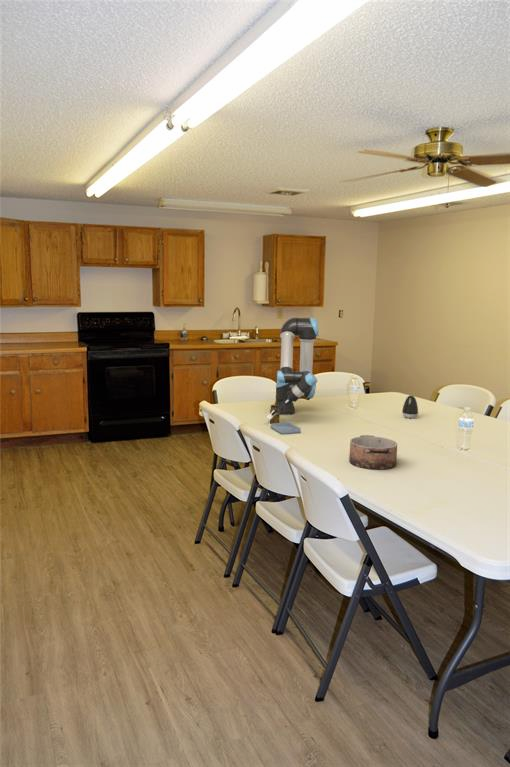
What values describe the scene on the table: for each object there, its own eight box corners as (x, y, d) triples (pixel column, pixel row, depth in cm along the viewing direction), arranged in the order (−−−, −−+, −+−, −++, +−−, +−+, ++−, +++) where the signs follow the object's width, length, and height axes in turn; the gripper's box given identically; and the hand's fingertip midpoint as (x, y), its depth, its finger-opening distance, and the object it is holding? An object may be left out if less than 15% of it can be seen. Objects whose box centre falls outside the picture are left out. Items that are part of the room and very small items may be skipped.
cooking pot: (343, 454, 296) (345, 434, 294) (387, 455, 296) (388, 434, 295) (355, 472, 266) (357, 450, 264) (403, 473, 267) (405, 450, 265)
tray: (288, 427, 352) (288, 422, 351) (300, 433, 337) (300, 428, 336) (270, 428, 347) (270, 423, 347) (281, 434, 332) (281, 429, 332)
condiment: (282, 424, 358) (282, 405, 356) (270, 426, 353) (271, 406, 351) (275, 422, 364) (275, 403, 362) (264, 423, 359) (264, 404, 357)
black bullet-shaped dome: (416, 416, 391) (417, 394, 389) (418, 419, 381) (420, 397, 379) (400, 415, 392) (402, 393, 390) (403, 419, 382) (404, 396, 380)
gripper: (296, 401, 340) (270, 424, 346) (302, 394, 364) (278, 416, 370) (287, 392, 340) (262, 415, 346) (294, 385, 364) (270, 407, 370)
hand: (270, 415), depth 358 cm, fingers open, 13 cm apart
